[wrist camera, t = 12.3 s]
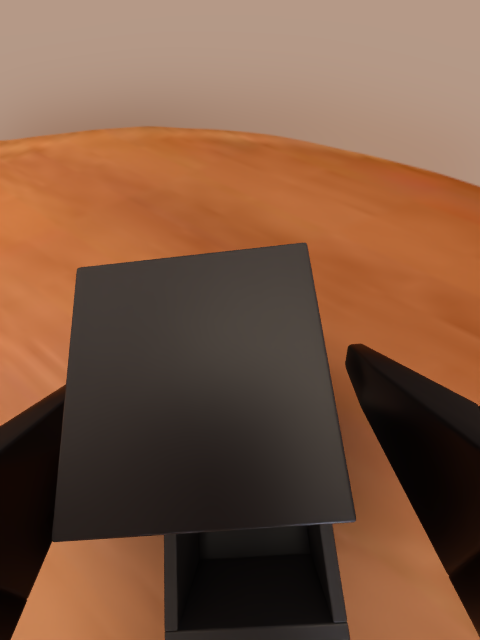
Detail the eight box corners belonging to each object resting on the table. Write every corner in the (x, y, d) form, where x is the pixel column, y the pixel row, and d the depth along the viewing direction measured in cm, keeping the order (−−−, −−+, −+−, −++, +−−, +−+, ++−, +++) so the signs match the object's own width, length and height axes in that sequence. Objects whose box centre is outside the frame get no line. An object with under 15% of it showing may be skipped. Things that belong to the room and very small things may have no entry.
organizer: (320, 558, 14) (350, 642, 9) (192, 566, 14) (164, 650, 10) (286, 317, 17) (297, 297, 13) (185, 327, 18) (162, 311, 13)
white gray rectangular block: (277, 408, 15) (364, 523, 3) (206, 414, 15) (44, 544, 3) (269, 337, 16) (310, 232, 4) (203, 344, 17) (72, 258, 5)
